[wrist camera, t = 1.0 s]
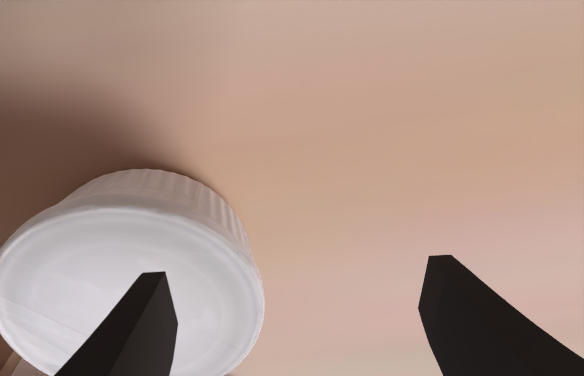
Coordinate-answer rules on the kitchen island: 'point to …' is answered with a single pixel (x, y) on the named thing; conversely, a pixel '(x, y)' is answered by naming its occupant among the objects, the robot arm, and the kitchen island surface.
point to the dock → (7, 358)
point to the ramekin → (132, 270)
